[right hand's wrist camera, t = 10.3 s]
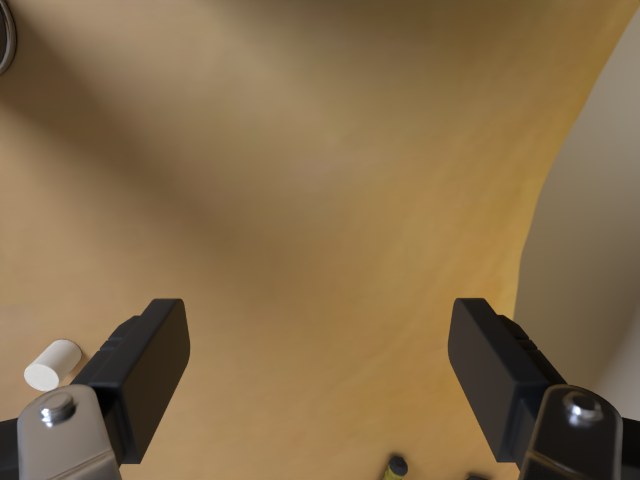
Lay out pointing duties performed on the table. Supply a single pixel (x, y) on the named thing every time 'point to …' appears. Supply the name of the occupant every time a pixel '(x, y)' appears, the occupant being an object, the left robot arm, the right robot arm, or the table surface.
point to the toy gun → (403, 470)
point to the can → (53, 365)
